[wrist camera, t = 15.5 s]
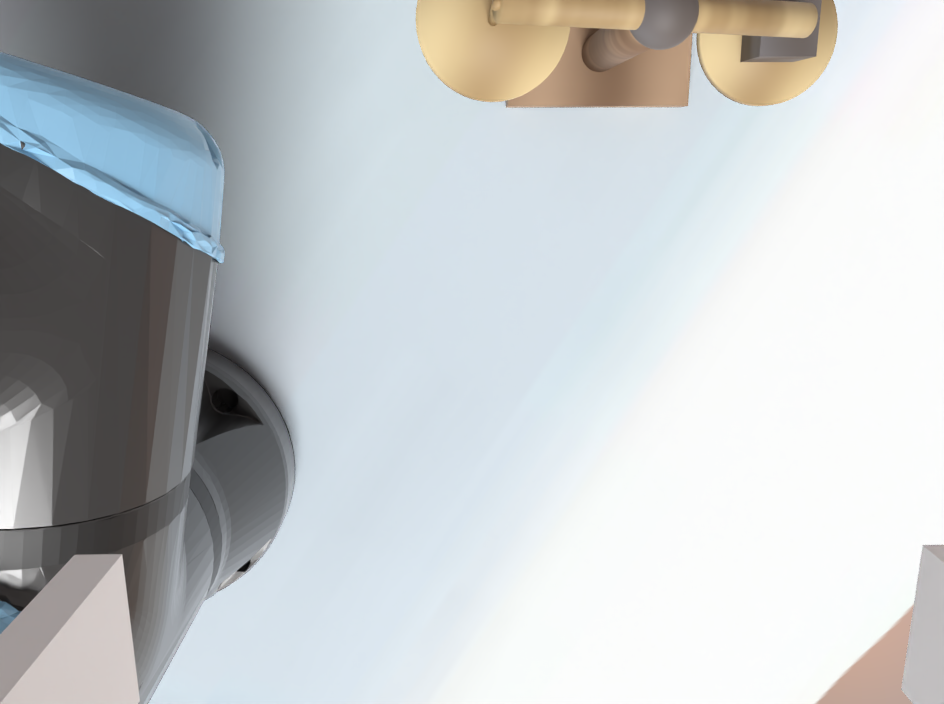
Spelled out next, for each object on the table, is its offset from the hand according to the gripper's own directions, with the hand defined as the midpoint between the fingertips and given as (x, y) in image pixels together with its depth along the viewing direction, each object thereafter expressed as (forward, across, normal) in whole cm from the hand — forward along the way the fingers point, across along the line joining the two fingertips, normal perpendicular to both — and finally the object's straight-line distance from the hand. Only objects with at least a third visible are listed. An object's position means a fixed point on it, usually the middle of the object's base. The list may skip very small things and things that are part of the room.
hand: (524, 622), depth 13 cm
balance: (+32, -6, -12) cm, 34 cm away
